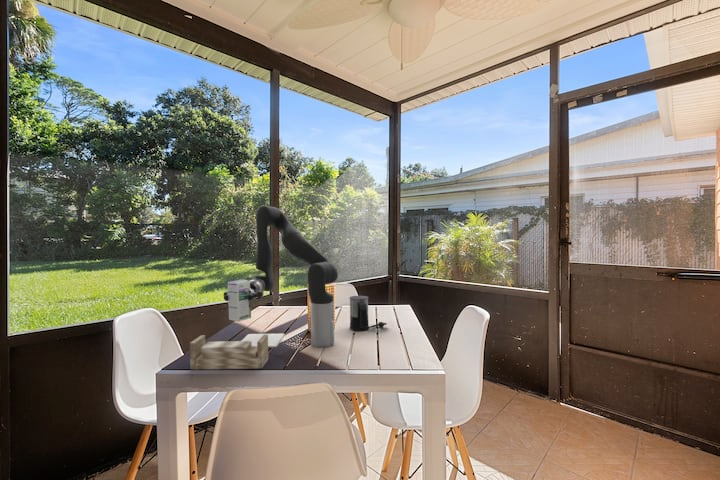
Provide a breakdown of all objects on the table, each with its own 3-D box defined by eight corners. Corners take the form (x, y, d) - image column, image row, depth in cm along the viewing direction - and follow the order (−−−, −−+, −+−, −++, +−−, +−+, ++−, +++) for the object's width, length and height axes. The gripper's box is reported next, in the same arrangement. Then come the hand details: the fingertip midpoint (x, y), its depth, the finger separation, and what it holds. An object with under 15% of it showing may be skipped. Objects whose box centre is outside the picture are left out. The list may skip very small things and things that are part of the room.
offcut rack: (268, 359, 121) (267, 334, 120) (262, 368, 113) (261, 342, 112) (201, 360, 120) (200, 335, 120) (190, 369, 112) (189, 342, 112)
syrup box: (238, 322, 121) (237, 282, 121) (228, 319, 124) (227, 281, 124) (251, 318, 126) (250, 280, 126) (241, 316, 129) (240, 279, 129)
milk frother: (345, 327, 159) (345, 296, 159) (373, 322, 168) (372, 293, 167) (361, 335, 147) (361, 302, 147) (390, 329, 156) (390, 297, 155)
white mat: (284, 334, 149) (284, 333, 149) (276, 347, 133) (276, 346, 133) (248, 335, 148) (248, 333, 148) (235, 348, 132) (235, 346, 132)
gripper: (233, 281, 139) (217, 288, 123) (268, 280, 139) (256, 287, 123) (234, 299, 139) (218, 308, 123) (268, 298, 140) (257, 308, 123)
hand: (237, 298), depth 123 cm, fingers closed on syrup box, 8 cm apart
